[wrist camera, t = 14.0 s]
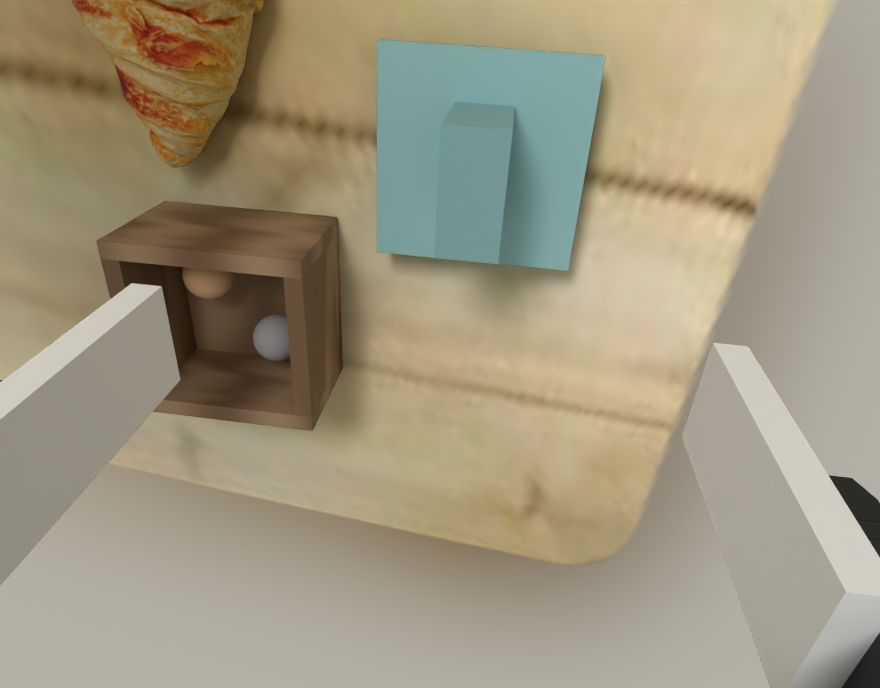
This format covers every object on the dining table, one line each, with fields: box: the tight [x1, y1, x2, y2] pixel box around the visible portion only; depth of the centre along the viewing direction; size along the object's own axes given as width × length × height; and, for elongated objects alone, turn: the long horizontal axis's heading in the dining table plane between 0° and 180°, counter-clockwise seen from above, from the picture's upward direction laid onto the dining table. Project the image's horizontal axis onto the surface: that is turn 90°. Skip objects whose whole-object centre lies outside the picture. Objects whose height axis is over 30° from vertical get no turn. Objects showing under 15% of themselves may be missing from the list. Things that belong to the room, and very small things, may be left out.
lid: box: [377, 39, 606, 271], centre depth 30 cm, size 11×11×9 cm
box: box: [96, 201, 343, 431], centre depth 37 cm, size 11×11×7 cm
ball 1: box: [182, 267, 234, 299], centre depth 37 cm, size 3×3×3 cm
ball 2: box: [253, 314, 290, 361], centre depth 39 cm, size 3×3×3 cm
